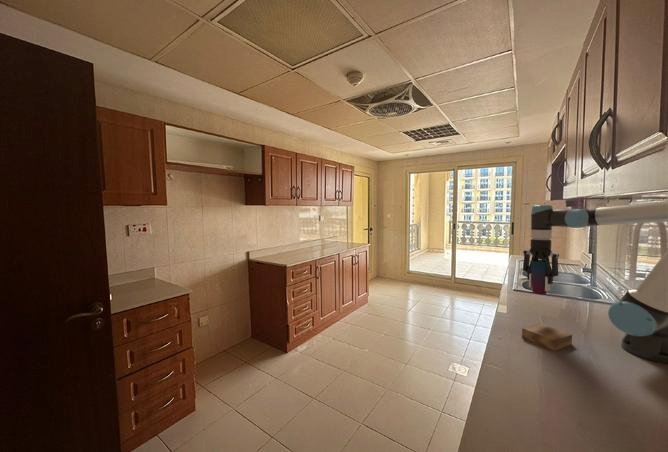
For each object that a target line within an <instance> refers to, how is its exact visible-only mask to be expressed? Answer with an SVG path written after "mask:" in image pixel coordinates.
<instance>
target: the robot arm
mask: <svg viewBox="0 0 668 452" xmlns="http://www.w3.org/2000/svg"><path fill="white" fill-rule="evenodd" d="M530 213H531V214H530V217H531V218H530V219H531V221H530V222H531V223H530V225H531V226H530V238H531V239H530V249H529V250H523V256H524V257H523V263H522V264H523V266H522V271H523V272H525V273H527V277H526V278H527V280H528V287H529V288H531V289H532V270H531V260H532V261H537V260H542V262H549V261H550V258H551V262H550V263H549V264H547V263H546V273H547V276H546V277H545V291H547V292H550V291H551V285H552V284H554V277H558V276H559V257H560V254H559V253H554V252H552V240H551V239H552V227H559V228H560V227H561V228H564V227H565V228H583V227H592V226H593V227H594V226H596V227H597V226H611V225H613V226H614V225H631V224H632V225H633V224H653V223H668V200H664V201H654V202H652V201H651V202H645V203H644V202H643V203H634V204H633V203H632V204H623V205H612V206H604V207H603V206H602V207H593V208H591V207H590V208H583V209H582V208H561V209H559V208H558V209H556V208H555V209H554V208H553V205H551V204H546V205H545V204H542V205H541V204H540V205H538V204H534V205H533V206H532V207H531V211H530ZM531 255H532V257H531ZM607 315H608V318H609V320H610V322H611V323H612V325H613V326H614V327H615V328H617V330H619V331H621V332H623V333H625V334H624V336H623V337H622V339H621V342H620V343H621V345H620V346H621V348H622V349H623V350H625V351H626V352H627V353H631V354H632V355H635V356H637V357H640V358H642V359H647V360H649V361H654V362H656V363H657V362H658V363H661V364H668V249H667V250H666V251H665V253H664V254H663V256H661V258H660V259H659V260H658V262H657V263H656V264H655V265H654V266H653V268H652V269H651V270H650V272H649V273H648V274H647V275H646V276H645V277H644V279H643V280H642V282H640V284H639V285H638V286H637V287H636V288H628V290H627V291H626V292H625V294H623V296H622V297H621V299H619V301H617V302H614V303H613V304H611V305H610V307H609V309H608V312H607Z"/></svg>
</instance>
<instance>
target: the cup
mask: <svg viewBox="0 0 668 452" xmlns="http://www.w3.org/2000/svg"><path fill="white" fill-rule="evenodd" d="M530 262H531V270H532V288H531V289H532V293H533V294H537V295H542V296H543V295H547V292H548V291H545V277H546V276H547V273H546V263H547V264H549V263H550V264H551V262H550V261H549V262H542V260H541V259H538V260H537V261H532V260H531V259H530Z"/></svg>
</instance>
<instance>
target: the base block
mask: <svg viewBox="0 0 668 452" xmlns="http://www.w3.org/2000/svg"><path fill="white" fill-rule="evenodd" d="M521 330H522V331H521V338H522V339H525V340H527V341H530V342H531V343H535V344H537V345H540V346H542V347H544V348H546V349H550V350H552V351H554V352H556V351H558V350H560V349H563V348H566V347H570V346H572V343H573V334H571V333H569V332H565V331H563V330H559V329H557V328H554V327H551V326H548V325H546V324H542V323H539V322H537V323H535V324H532V325H529V326H526V327H522V329H521Z"/></svg>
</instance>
